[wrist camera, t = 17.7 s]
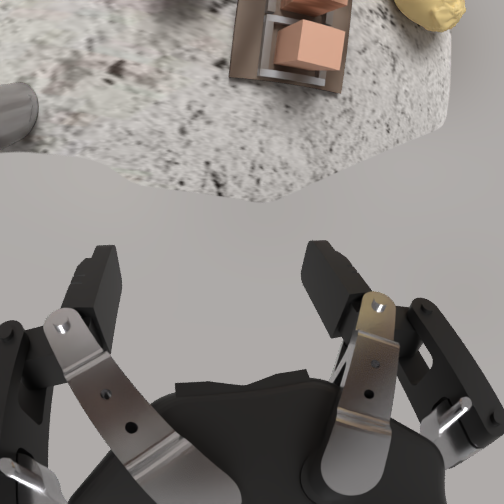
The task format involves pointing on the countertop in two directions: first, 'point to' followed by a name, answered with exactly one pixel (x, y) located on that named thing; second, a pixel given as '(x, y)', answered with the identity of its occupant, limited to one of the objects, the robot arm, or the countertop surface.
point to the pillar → (309, 46)
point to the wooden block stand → (265, 37)
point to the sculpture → (433, 13)
